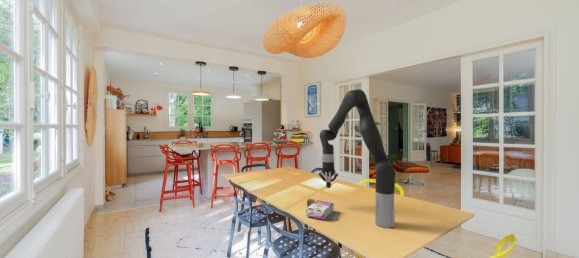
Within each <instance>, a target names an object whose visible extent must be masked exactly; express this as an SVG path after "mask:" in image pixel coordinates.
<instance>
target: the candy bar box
mask: <svg viewBox="0 0 579 258" xmlns="http://www.w3.org/2000/svg"><path fill="white" fill-rule="evenodd" d="M334 206H335V204H334V203H333V202H328V201H324V200H315V201H314V203H313V204H311V205H310V206H308V207H307V206H306V207H305V208H306V210H305V211H306V212H305V215H306V217H308V216H309V217H308V218H312V217H314V218H315V219H319V220H326V219H325V218H326V217H327V216H328V215H329V214H330V213H332V212H333V211H335V210H334ZM314 218H313V219H314Z"/></svg>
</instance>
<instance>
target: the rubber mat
mask: <svg viewBox="0 0 579 258" xmlns="http://www.w3.org/2000/svg"><path fill="white" fill-rule="evenodd" d="M339 214H340V211H335V210H333V212H332V213H330V214H329V215H328V216H327V217H326V218H325V219H324V220H329V221H337V220H338V217H339ZM307 217H308V218H310V217H309V216H307ZM311 218H313V219H314V217H311Z"/></svg>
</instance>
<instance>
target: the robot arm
mask: <svg viewBox="0 0 579 258" xmlns="http://www.w3.org/2000/svg"><path fill="white" fill-rule="evenodd" d="M353 108H356V110H357V113H358V116H359V133H360V135H361V138H362V139H363V142H364V144H365V146H366V148H367V150H368V151H369V153H370V155H371V158H372V161H373V164H374V168H375V207H374V208H375V210H374V212H375V213H374V215H375V217H374V218H375V219H374V220H375V225H376V226H379V227H382V228H385V229H386V228H387V229H389V228H395V212H396V210H395V188H396V187H395V186H396V171H395V170H396V169H395V168H394V166H393V164H392V163H391V161H390V159H389V158H388V156H387V153H386V151H385V148H384V142H383V139H382V136H381V133H380V131H379V129H378V126H377V123H376V121H375V119H374V117H373V113H372V111H371V108H370V104H369V99H368V97H367V94H366V92H365V91H364V90H363V89H358V88H357V89H353V90H352V89H351V90H348V91H347V92H346V93H345V94H344V97H343V99H342V101H341V103H340V105H339V107H338V109H337V111H336V113H335V115H334V116H333V117H332V119H331V120H330V122H329V124H328V129H322V130H321V131H320V132H319V140H320V143H321V147H322V158H321V161H322V162H321V163H322V166H321V167H322V170H321V172H319V173H318V176H319V177H320V178H321V179H322V180H323V182H326V183H325V186H326V188H327V189H330V188H331V187H332V183H333V182H334V181H335V180H336V179H337V178H338V176H339V173H337V172H336V169H335V151H334V150H335V148H334V145H333V144H330V143H329V141H334V140H335V139H336V138H337V136H338V134H339V131H340V129H341V128H342V127H343V125H344V124H345V122H346V119H347V115H348V113H349V112H350V111H351V110H352V109H353Z"/></svg>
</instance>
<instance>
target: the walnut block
mask: <svg viewBox="0 0 579 258" xmlns="http://www.w3.org/2000/svg"><path fill="white" fill-rule="evenodd" d="M314 202H315V199H314V198H313V199H312V198H308V199H307V200H306V208H307V207H308V206H310V205H311V204H313V203H314Z"/></svg>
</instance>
